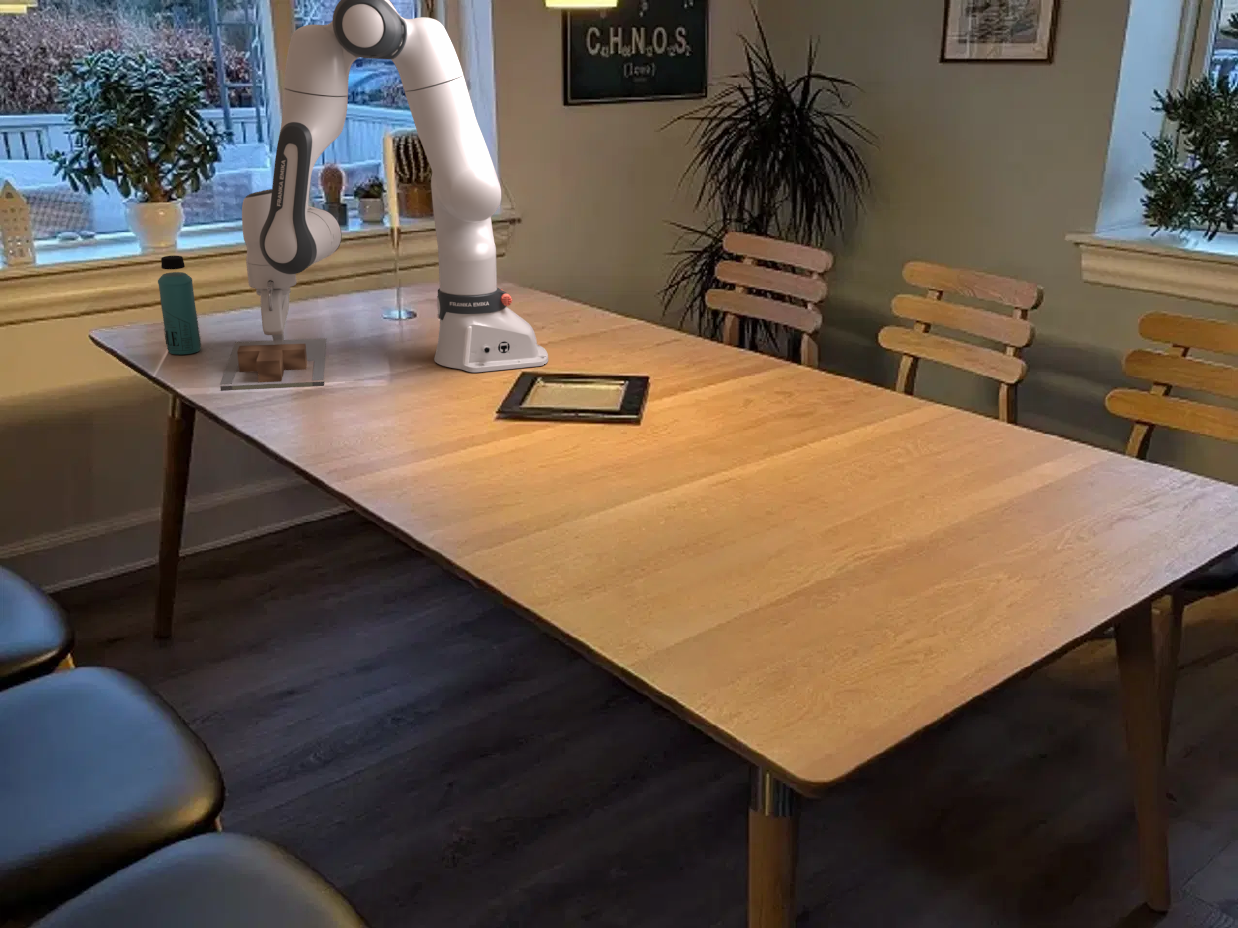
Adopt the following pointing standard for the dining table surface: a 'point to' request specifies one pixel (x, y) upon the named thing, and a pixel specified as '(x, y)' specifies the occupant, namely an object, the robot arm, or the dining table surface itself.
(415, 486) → the dining table surface
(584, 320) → the dining table surface
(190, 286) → the beverage bottle
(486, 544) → the dining table surface
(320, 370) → the board
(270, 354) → the t block
